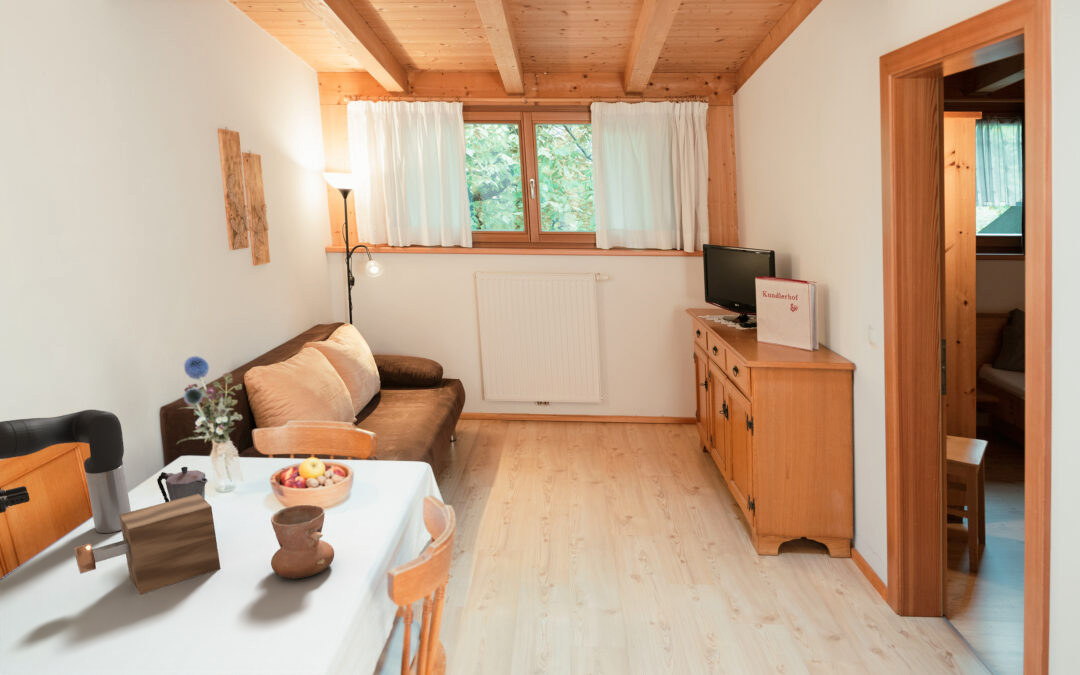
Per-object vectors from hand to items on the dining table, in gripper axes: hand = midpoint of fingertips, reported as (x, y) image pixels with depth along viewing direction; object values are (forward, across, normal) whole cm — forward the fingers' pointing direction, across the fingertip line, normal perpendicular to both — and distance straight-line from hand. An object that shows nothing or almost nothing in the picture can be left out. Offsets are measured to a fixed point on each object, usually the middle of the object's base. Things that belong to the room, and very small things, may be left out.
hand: (27, 493), depth 174 cm
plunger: (+18, 0, +21) cm, 27 cm away
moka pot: (+34, +18, +28) cm, 48 cm away
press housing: (+26, 0, +28) cm, 38 cm away
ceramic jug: (+50, -20, +28) cm, 61 cm away
